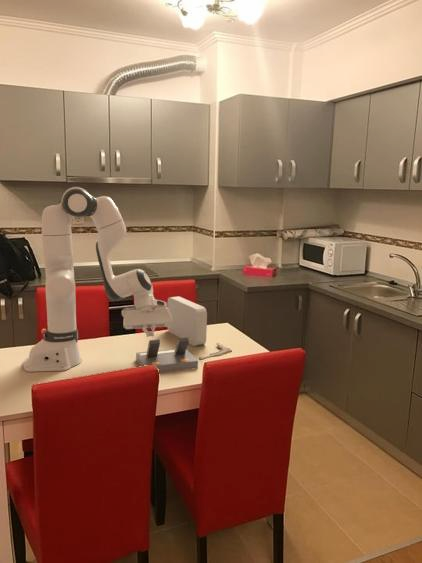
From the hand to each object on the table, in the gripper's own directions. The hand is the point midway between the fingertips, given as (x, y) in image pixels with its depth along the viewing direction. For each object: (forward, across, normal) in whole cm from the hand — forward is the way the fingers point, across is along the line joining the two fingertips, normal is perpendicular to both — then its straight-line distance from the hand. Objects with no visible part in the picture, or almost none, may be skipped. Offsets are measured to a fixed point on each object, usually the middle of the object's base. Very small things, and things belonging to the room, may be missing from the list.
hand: (150, 336), depth 189 cm
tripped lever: (+6, 0, +5) cm, 8 cm away
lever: (+6, +12, +5) cm, 15 cm away
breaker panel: (+10, +7, +7) cm, 14 cm away
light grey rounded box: (-12, +24, +29) cm, 39 cm away
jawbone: (+5, +29, +13) cm, 32 cm away
